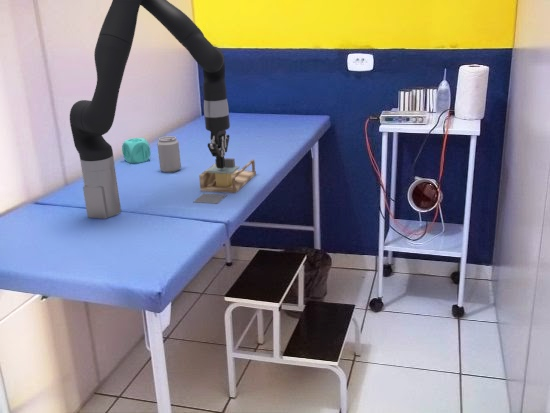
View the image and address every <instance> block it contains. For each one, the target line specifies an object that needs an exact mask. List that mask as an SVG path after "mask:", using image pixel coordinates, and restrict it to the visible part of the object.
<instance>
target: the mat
mask: <svg viewBox="0 0 550 413" xmlns="http://www.w3.org/2000/svg"><path fill="white" fill-rule="evenodd" d="M227 196H228V195H227V194H219V193H217V194H216V193H201V195H199V196H198V197H197V198H196V199H195V200H194V201H192V203H195V204H197V203H198V204H209V205H210V204H211V205H218V204H219V203H220V202H221V201H222V200H224V199H225V198H226V197H227Z"/></svg>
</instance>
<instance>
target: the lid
mask: <svg viewBox="0 0 550 413" xmlns="http://www.w3.org/2000/svg"><path fill="white" fill-rule="evenodd" d="M224 160H225V167H224V168H222V169H221V168H217V163H216V158H215V160H214V161H215V163H216V165H214V164H213V166H212V165H211V166H212V167H211V166H210V167H211V168H210V167H209V169H208V168H207V169H208V170H207V169H206V170H207V171H206V170H205V171H206V172H207V173H227V174H233V173H234V172H235V171H236V170H240V166H239V165H236V161H235V158H231V157H230V158H227V157H224Z"/></svg>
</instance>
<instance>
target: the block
mask: <svg viewBox="0 0 550 413" xmlns="http://www.w3.org/2000/svg"><path fill="white" fill-rule="evenodd" d="M215 177H216V186H218V187H230V186H232V174H227V173H215Z"/></svg>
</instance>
